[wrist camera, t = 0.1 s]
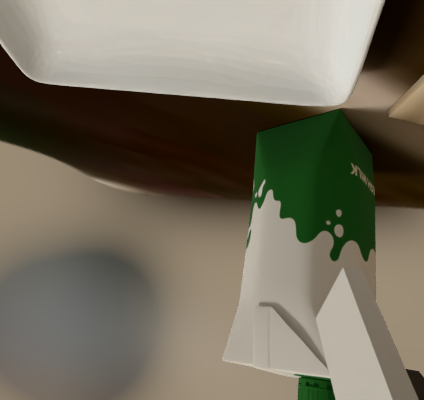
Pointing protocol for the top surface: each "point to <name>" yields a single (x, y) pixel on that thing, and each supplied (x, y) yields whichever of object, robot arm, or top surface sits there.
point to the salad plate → (195, 46)
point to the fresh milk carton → (302, 245)
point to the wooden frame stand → (410, 104)
